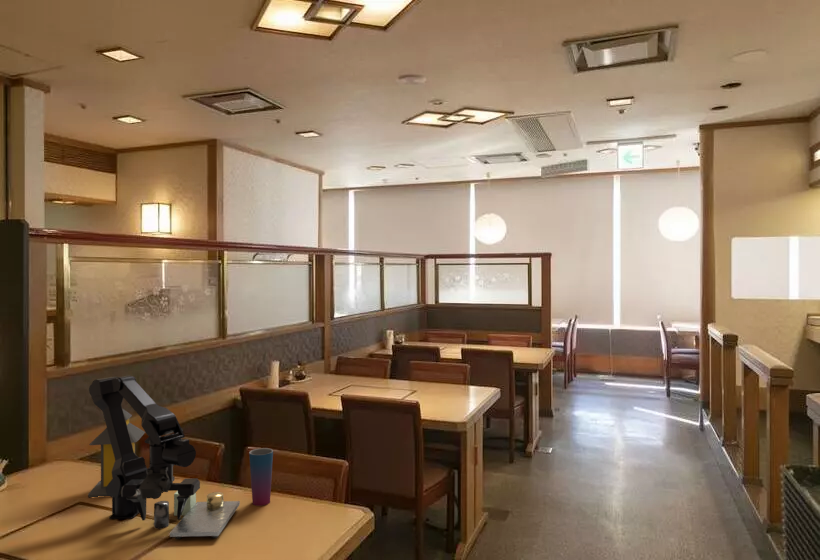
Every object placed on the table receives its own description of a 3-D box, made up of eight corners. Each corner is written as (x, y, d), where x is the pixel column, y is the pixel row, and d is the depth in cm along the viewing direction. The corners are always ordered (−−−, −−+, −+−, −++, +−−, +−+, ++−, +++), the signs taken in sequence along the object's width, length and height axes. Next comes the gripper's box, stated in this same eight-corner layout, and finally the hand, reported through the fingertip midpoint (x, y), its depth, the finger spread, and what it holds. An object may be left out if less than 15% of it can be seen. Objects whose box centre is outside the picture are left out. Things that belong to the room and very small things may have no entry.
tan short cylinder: (204, 508, 156) (204, 498, 157) (209, 502, 161) (209, 492, 161) (220, 508, 157) (220, 497, 157) (225, 502, 161) (225, 491, 161)
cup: (266, 507, 163) (266, 455, 163) (245, 506, 164) (244, 454, 165) (277, 498, 170) (276, 448, 170) (256, 497, 171) (255, 447, 171)
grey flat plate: (169, 542, 142) (169, 532, 142) (197, 510, 162) (197, 501, 162) (218, 541, 142) (218, 531, 142) (239, 509, 162) (239, 501, 162)
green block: (174, 515, 158) (174, 494, 158) (180, 509, 163) (180, 488, 163) (190, 515, 158) (190, 493, 158) (196, 508, 163) (195, 487, 163)
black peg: (151, 528, 150) (151, 506, 150) (157, 523, 153) (157, 500, 153) (165, 528, 150) (165, 505, 150) (171, 522, 153) (170, 500, 153)
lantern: (137, 494, 174) (137, 396, 174) (86, 498, 171) (86, 398, 171) (147, 479, 188) (147, 388, 188) (100, 482, 185) (100, 390, 185)
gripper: (110, 471, 143) (110, 533, 143) (185, 470, 144) (186, 532, 144) (131, 457, 154) (131, 515, 154) (200, 456, 155) (200, 514, 155)
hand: (161, 519), depth 151 cm, fingers open, 9 cm apart
